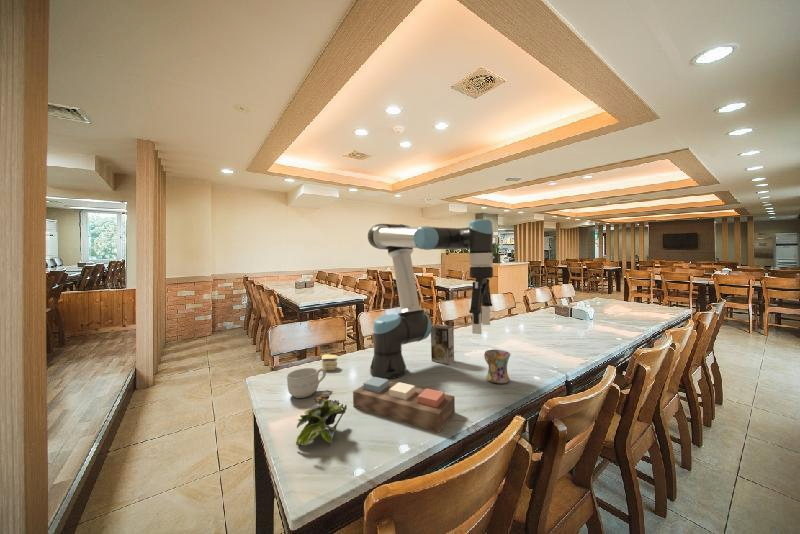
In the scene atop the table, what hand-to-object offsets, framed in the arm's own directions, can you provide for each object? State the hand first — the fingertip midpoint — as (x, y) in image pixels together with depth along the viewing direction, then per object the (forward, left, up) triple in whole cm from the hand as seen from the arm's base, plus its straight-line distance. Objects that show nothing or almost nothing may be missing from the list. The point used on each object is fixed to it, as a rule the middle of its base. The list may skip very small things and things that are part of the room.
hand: (481, 328), depth 101 cm
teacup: (-56, -26, -23) cm, 66 cm away
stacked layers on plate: (-67, -4, -24) cm, 71 cm away
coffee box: (-26, +27, -23) cm, 44 cm away
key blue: (-30, -20, -20) cm, 41 cm away
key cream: (-20, -20, -20) cm, 35 cm away
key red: (-10, -20, -20) cm, 30 cm away
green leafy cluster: (-31, -43, -23) cm, 58 cm away
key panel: (-20, -20, -23) cm, 37 cm away
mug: (0, +17, -23) cm, 29 cm away
